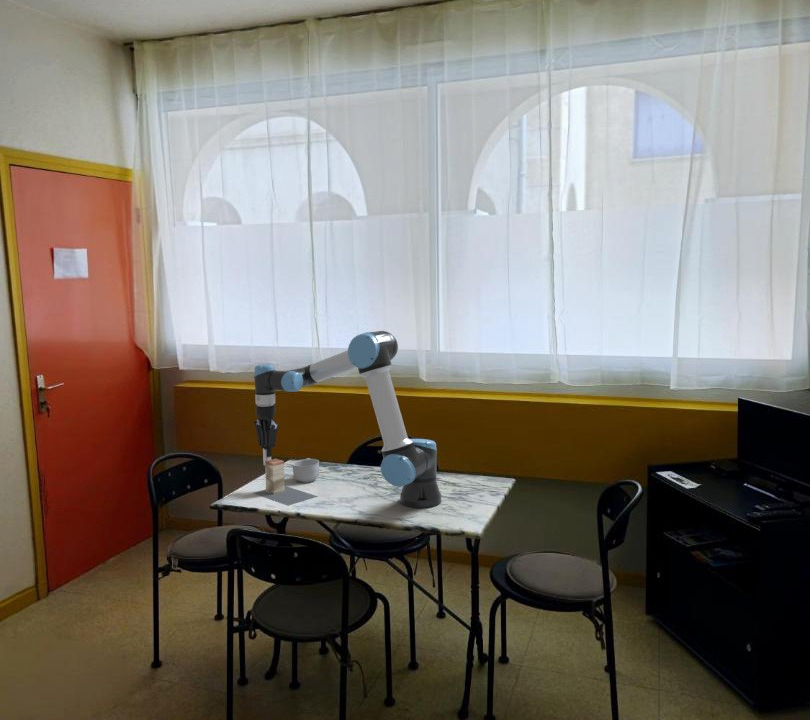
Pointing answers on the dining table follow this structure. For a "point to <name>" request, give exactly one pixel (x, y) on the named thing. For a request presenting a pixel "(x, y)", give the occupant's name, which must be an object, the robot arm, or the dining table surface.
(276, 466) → the block
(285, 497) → the mat
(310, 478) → the teacup
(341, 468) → the dining table surface
